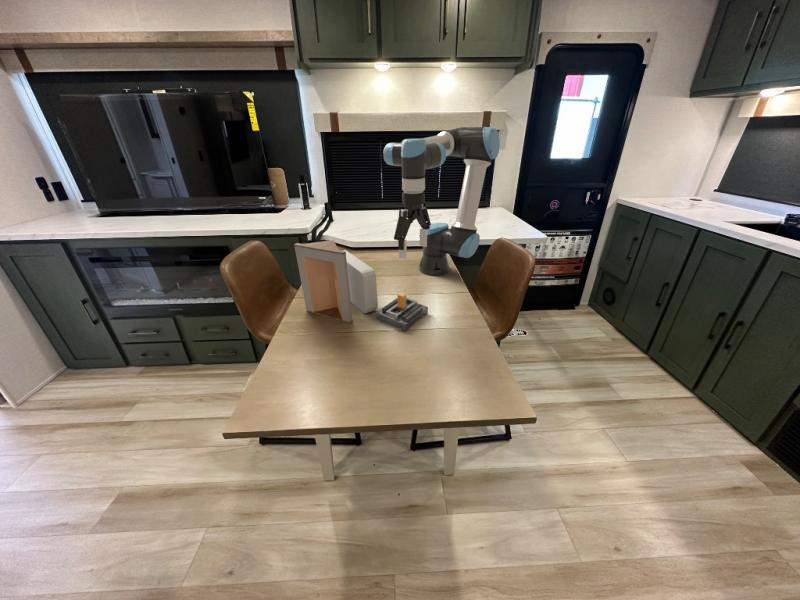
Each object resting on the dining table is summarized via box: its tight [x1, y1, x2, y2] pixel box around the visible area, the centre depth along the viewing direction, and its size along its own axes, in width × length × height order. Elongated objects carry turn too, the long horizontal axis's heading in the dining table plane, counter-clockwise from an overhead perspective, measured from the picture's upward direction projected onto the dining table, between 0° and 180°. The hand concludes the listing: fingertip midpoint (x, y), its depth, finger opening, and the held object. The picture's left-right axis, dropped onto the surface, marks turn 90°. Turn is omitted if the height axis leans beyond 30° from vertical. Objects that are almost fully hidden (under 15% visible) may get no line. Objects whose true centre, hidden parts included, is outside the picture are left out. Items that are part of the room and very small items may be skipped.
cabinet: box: [294, 239, 354, 324], centre depth 118 cm, size 21×10×28 cm, turn 65°
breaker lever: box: [397, 292, 407, 311], centre depth 118 cm, size 3×3×6 cm
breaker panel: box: [374, 297, 429, 332], centre depth 120 cm, size 15×14×4 cm
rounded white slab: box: [342, 249, 378, 314], centre depth 129 cm, size 29×8×18 cm, turn 34°
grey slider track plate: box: [381, 297, 423, 321], centre depth 119 cm, size 11×12×1 cm
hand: (413, 251), depth 114 cm, fingers open, 13 cm apart
